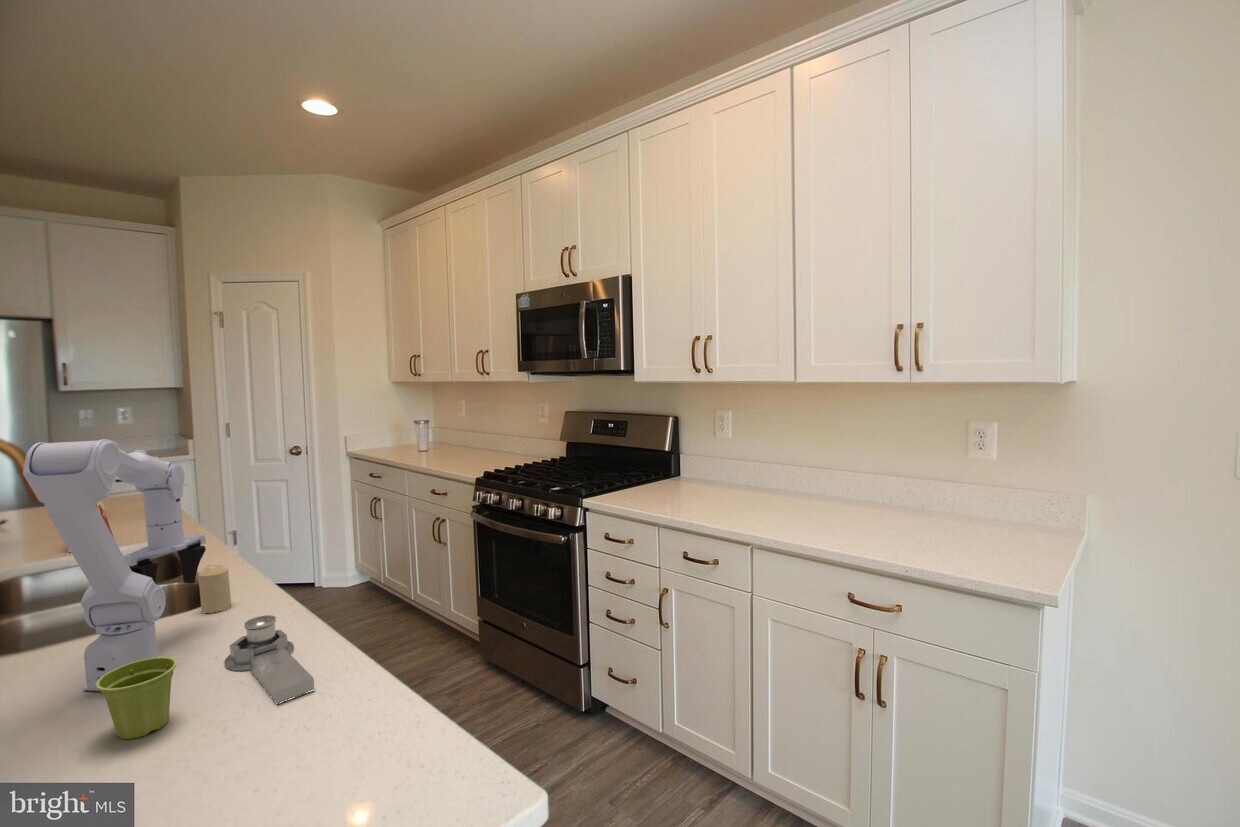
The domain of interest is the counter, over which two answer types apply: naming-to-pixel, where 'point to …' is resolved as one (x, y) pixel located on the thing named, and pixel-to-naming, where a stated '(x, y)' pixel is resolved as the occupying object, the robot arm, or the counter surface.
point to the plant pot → (138, 695)
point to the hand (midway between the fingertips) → (170, 589)
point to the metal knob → (260, 631)
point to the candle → (214, 588)
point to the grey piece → (271, 667)
